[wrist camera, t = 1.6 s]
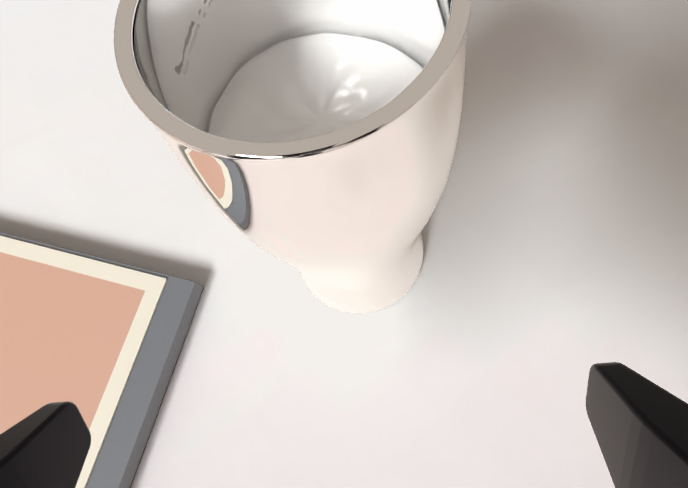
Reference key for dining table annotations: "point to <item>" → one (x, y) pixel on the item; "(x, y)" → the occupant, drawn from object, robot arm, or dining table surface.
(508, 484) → the dining table surface
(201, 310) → the dining table surface
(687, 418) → the robot arm
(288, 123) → the beer glass
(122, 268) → the grey picture frame
